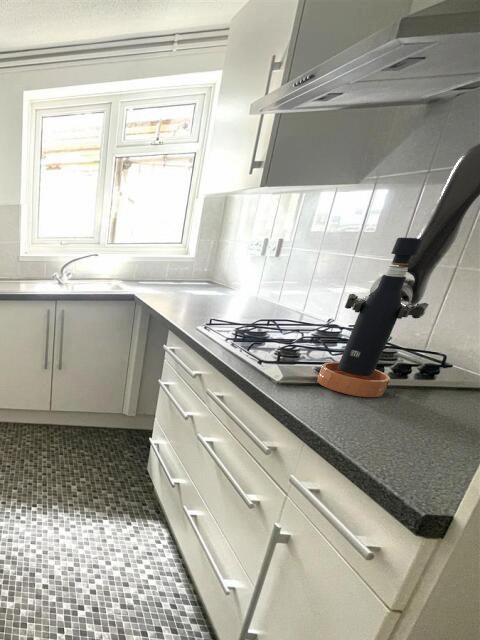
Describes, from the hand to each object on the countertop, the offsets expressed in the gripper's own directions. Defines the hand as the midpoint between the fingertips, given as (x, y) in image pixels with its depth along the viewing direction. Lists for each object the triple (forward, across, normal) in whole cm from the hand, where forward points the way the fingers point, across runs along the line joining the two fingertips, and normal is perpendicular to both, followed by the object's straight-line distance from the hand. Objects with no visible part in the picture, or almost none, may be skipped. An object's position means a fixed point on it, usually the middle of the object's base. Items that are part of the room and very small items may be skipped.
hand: (379, 310), depth 91 cm
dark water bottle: (-2, 0, +15) cm, 15 cm away
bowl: (-2, 0, +19) cm, 20 cm away
